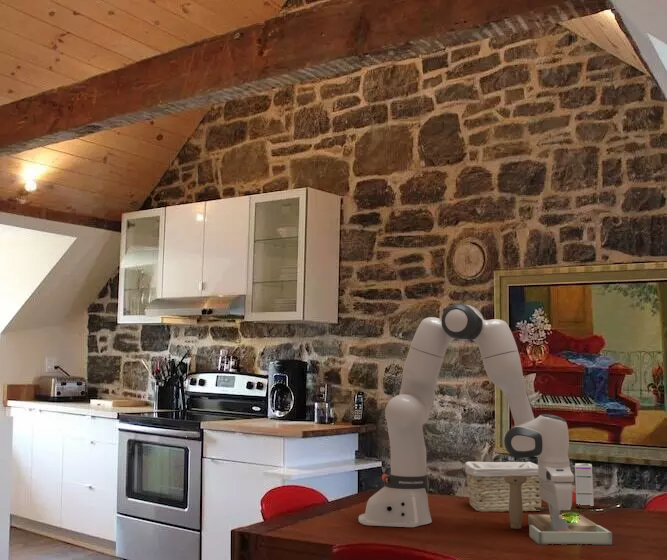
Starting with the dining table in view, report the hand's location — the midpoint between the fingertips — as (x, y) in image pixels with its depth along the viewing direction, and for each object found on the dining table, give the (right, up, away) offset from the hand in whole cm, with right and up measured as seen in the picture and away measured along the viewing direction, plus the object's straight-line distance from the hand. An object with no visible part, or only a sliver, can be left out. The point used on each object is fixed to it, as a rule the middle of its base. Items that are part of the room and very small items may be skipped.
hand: (554, 520), depth 228 cm
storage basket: (-6, -8, +40) cm, 42 cm away
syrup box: (+22, -9, +43) cm, 49 cm away
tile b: (0, -2, -4) cm, 4 cm away
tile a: (0, 0, -9) cm, 9 cm away
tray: (+2, -3, -8) cm, 9 cm away
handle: (-9, -5, +8) cm, 13 cm away
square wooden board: (+4, -5, +5) cm, 8 cm away
